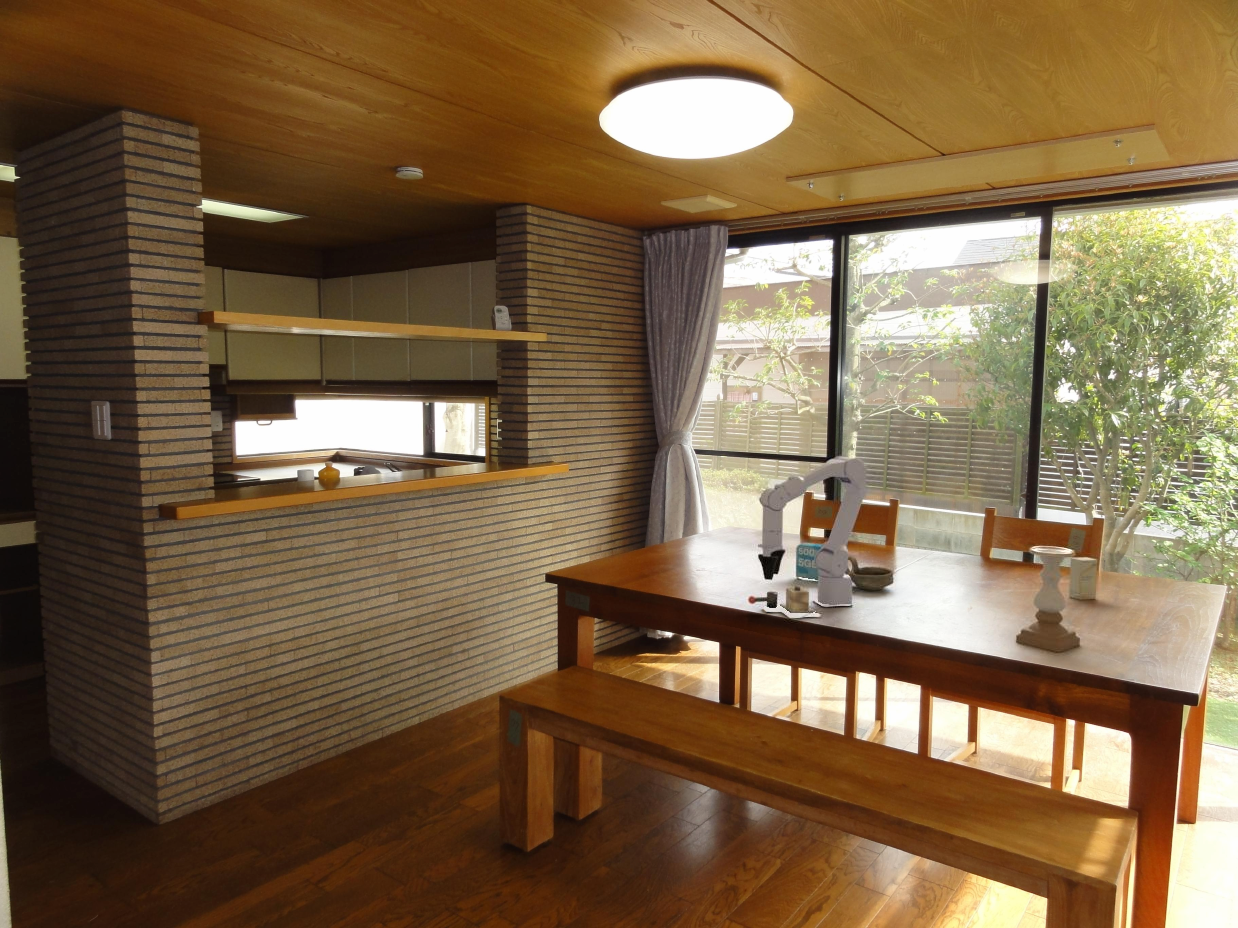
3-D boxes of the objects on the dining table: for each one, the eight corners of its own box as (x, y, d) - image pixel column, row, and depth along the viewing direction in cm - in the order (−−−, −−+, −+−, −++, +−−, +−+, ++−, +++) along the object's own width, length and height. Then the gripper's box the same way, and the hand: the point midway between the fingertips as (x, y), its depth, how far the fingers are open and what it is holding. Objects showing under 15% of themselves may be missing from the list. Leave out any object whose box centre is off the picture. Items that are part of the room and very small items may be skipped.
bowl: (882, 596, 254) (882, 564, 253) (831, 587, 266) (831, 556, 266) (902, 588, 264) (903, 558, 263) (852, 580, 276) (853, 550, 275)
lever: (775, 604, 240) (775, 591, 239) (778, 607, 237) (779, 593, 236) (746, 606, 238) (746, 592, 238) (750, 608, 235) (750, 595, 235)
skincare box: (1079, 600, 249) (1081, 560, 248) (1067, 596, 254) (1069, 557, 253) (1096, 598, 251) (1098, 559, 250) (1084, 595, 255) (1086, 556, 254)
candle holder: (1058, 653, 200) (1063, 555, 198) (1014, 642, 209) (1018, 548, 206) (1080, 644, 206) (1085, 550, 204) (1037, 634, 215) (1041, 543, 213)
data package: (795, 579, 278) (796, 543, 277) (800, 576, 281) (801, 541, 280) (829, 583, 271) (830, 547, 270) (834, 581, 274) (835, 545, 273)
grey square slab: (804, 606, 243) (804, 601, 243) (820, 617, 231) (820, 611, 231) (761, 608, 241) (761, 603, 240) (775, 619, 229) (775, 614, 229)
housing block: (801, 603, 239) (801, 584, 239) (808, 609, 234) (809, 588, 233) (785, 604, 239) (786, 584, 238) (793, 609, 233) (793, 589, 233)
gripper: (764, 525, 246) (763, 570, 248) (752, 533, 233) (751, 580, 234) (788, 527, 244) (787, 572, 245) (777, 534, 230) (776, 582, 232)
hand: (771, 576), depth 239 cm, fingers open, 7 cm apart
